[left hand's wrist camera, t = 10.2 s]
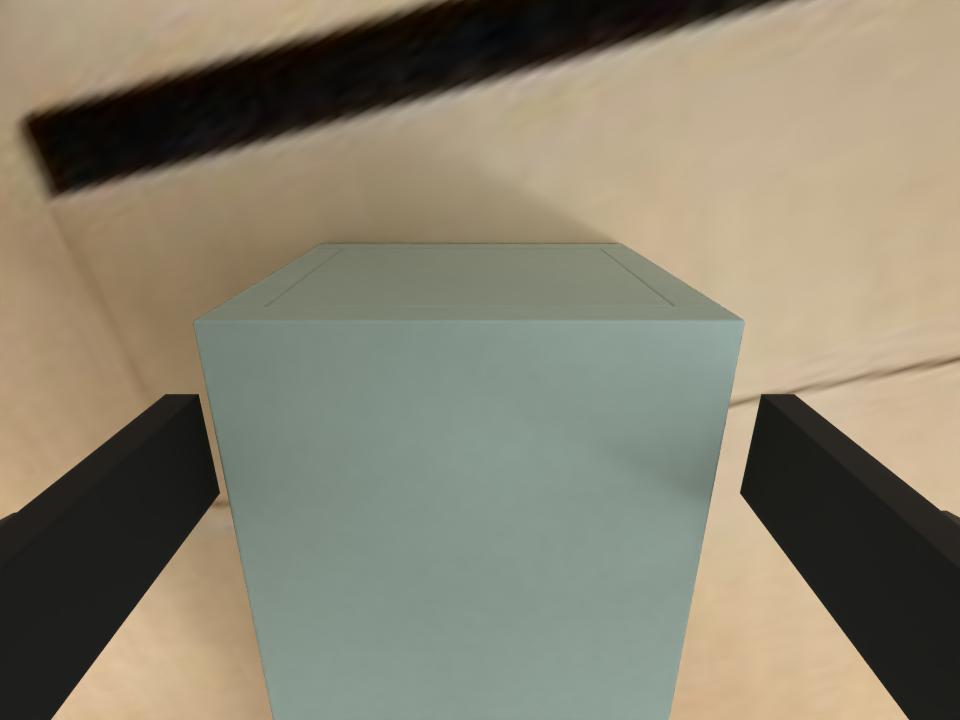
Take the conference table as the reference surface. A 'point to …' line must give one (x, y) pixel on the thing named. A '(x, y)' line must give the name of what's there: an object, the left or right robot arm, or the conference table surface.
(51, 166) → the conference table surface
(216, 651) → the conference table surface
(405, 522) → the cabinet
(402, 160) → the conference table surface
